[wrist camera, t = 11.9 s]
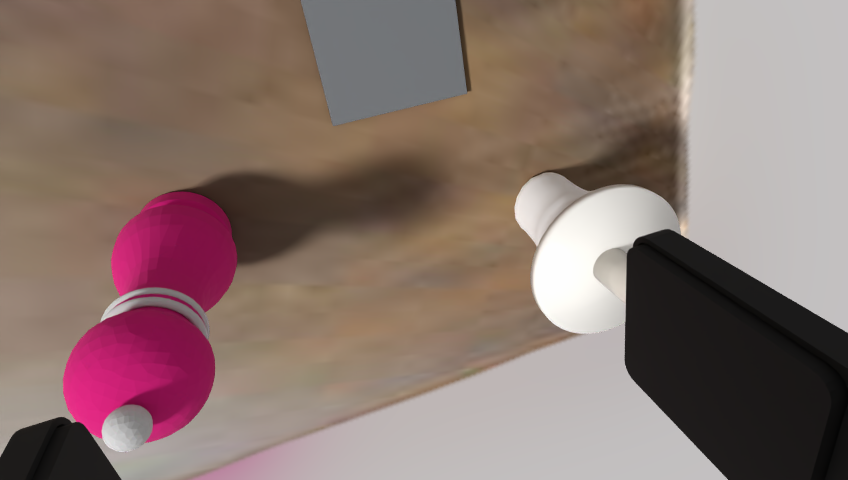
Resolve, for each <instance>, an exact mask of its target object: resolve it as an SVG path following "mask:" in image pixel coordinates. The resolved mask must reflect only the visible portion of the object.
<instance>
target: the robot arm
mask: <svg viewBox="0 0 848 480" xmlns="http://www.w3.org/2000/svg"><path fill="white" fill-rule="evenodd" d="M625 365H626V368H627V371H628V373H629V375H630V376H631V378H632V379H633V380H634V381H635V382H636V384H637V385H638V386H639V387H640V388H641V389H642V390H643V391H644V392H645V393H646V394H647V395H648V396H649V397H650V398H651V399H652V400H653V401H654V402H655V403H656V404H657V405H658V407H659V408H660V409H661V410H662V411H663V412H664V413H665V414H666V415H667V416H668V417H669V418H670V419H671V420H672V421H673V422H674V423H675V424H676V425H677V426H678V428H679V429H680V430H681V431H682V432H683V433H684V434H685V435H686V436H687V437H688V438H689V439H690V440H691V441H692V442H693V443H694V444H695V445H696V446H697V447H698V449H700V451H701V452H702V453H703V454H704V455H705V456H706V457H707V458H708V459H709V460H710V461H711V462H712V463H713V464H714V465H715V466H716V467H717V468H718V469H719V470H720V472H722V474H723V475H724V476H725V477H726V478H727V479H728V480H848V333H847V332H845V331H843V330H842V329H840V328H838V327H837V326H835V325H833V324H831V323H830V322H828V321H826V320H825V319H823V318H821V317H820V316H818V315H816V314H814V313H813V312H811V311H809V310H808V309H806V308H804V307H803V306H801V305H799V304H797V303H796V302H794V301H792V300H791V299H788V298H787V297H785V296H783V295H782V294H780V293H779V292H777V291H775V290H774V289H772V288H770V287H768V286H767V285H765V284H763V283H762V282H760V281H758V280H757V279H755V278H753V277H751V276H750V275H748V274H746V273H745V272H743V271H741V270H740V269H738V268H736V267H734V266H733V265H731V264H729V263H728V262H726V261H724V260H722V259H721V258H719V257H717V256H716V255H714V254H712V253H711V252H709V251H707V250H705V249H704V248H702V247H700V246H699V245H697V244H695V243H694V242H692V241H690V240H689V239H687V238H685V237H683V236H682V235H680V234H678V233H677V232H675V231H673V230H670V229H664V230H660V231H657V232H654V233H651V234H647V235H644V236H641V237H638V238H637V239H635V241H634V243H633V248H630V249H629V250H628V252H627V264H626V317H625ZM0 480H121V478H120V477H119V475H118V474H117V472H116V471H115V469H114V468H113V466H112V465H111V463H110V462H109V460H108V459H107V457H106V456H105V455H104V453H103V452H102V450H101V449H100V447H99V446H98V444H97V443H96V441H95V440H94V438H93V437H92V435H91V434H90V432H89V431H88V429H87V428H86V427H85V426H84V424H82V423H80V422H75V423H71V421H70V420H68V419H66V418H65V417H58V418H55V419H52V420H49V421H45V422H42V423H39V424H36V425H32V426H29V427H26V428H23V429H20V430H18V431H17V432H15V433H14V435H13V436H12V437H11V439H10V440H9V442H8V444H7V446H6V448H5V450H4V451H3V453H2V455H1V457H0Z"/></svg>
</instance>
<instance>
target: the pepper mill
mask: <svg viewBox="0 0 848 480" xmlns="http://www.w3.org/2000/svg"><path fill="white" fill-rule="evenodd" d="M111 266H112V274H113V279H114V284H115V286H116V288H117V290H118V292H119V294H120V296H121V297H119V298H118V299H116V300H115V301H114V302H112V303H111V305H110V306H109V307H108V308H107V309H106V311H105V312H104V314H103V317H102V319H101V322H100V323H99V324H97V325H96V326H94V327H93V328H91V329H90V330H88V332H87V333H86V334H85V335H84V336H83V337H82V338H81V339H80V340H79V342H78V343H77V344H76V346H75V347H74V349H73V350H72V352H71V355H70V357H69V359H68V362H67V364H66V369H65V373H64V377H63V394H64V397H65V400H66V404H67V407H68V410H69V411H70V413H71V414H72V416H73V417H74V419H75V420H76V421H77V422H80V423H82V424H84V426H85V427H86V428H87V429H88V431H89V432H90V433H92V434H93V435H95V436H97V437H99V438H102V439H103V440H104V442H105V444H106V445H107V446H108V447H109V448H111V449H113V450H116V451H118V452H127V451H131V450H134V449H136V448H139V447H140V446H141V445H143V444H144V443H147V442H152V441H155V440H159V439H162V438H164V437H167V436H169V435H171V434H173V433H175V432H176V431H178V430H180V429H181V428H183V427H184V426H186V425H187V424H188V423H189V422H190V421H191V420H192V419H193V418H194V417H195V416H196V415H197V414H198V413H199V411H200V410H201V409H202V407H203V406H204V404H205V402H206V401H207V399H208V397H209V394H210V392H211V389H212V386H213V382H214V377H215V358H214V355H213V351H212V348H211V345H210V343H209V341H208V338H209V332H210V330H209V322H208V318H207V316H206V314H205V312H206V311H208V310H209V309H210V308H212V307H213V306H214V305H215V304H216V303H217V302H218V301H219V300H220V299H221V298H222V296H223V295H224V294H225V292H226V291H227V290H228V288H229V286H230V285H231V283H232V280H233V277H234V274H235V270H236V266H237V252H236V246H235V243H234V241H233V239H232V230H231V225H230V222H229V219H228V217H227V215H226V214H225V213H224V211H223V210H222V209H221V208H220V207H219V206H218V205H217V204H216V203H215V202H213V201H212V200H210V199H208V198H206V197H204V196H202V195H199V194H196V193H191V192H171V193H167V194H163V195H161V196H158V197H157V198H155V199H153V200H152V201H150V202H149V203H148V204H147V205H146V206H145V207H144V208H143V209H142V211H141V212H140V214H138V215H137V216H135V217H134V218H133V219H131V220H130V221H129V222H128V223H127V224H126V225H125V226H124V227H123V229H122V230H121V232H120V233H119V235H118V237H117V240H116V243H115V246H114V249H113V253H112V258H111Z"/></svg>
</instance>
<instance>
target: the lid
mask: <svg viewBox="0 0 848 480" xmlns="http://www.w3.org/2000/svg"><path fill="white" fill-rule="evenodd" d="M664 229H670V230H673V231H675V232H677V233H678V234H680V235H681V232H680V225H679V222H678V218H677V216H676V214H675V212H674V210H673V209H672V207H671V206H670V204H669V203H668V202H667V201H666V200H664V199H663V198H662V197H660V196H659V195H657V194H656V193H654V192H652V191H650V190H648V189H645V188H643V187H640V186H636V185H631V184H617V185H610V186H606V187H602V188H599V189H596V190H593V191H591V192H589V193H587V194H585V195H583V196H582V197H580V198H578V199H577V200H575V201H574V202H572V203H571V204H570V205H569V206H568V207H566V208H565V209H564V210H563V211H562V212H561V213H560V214H559V215H558V216H557V217H556V218H555V219H554V220H553V222H552V223H551V224H550V225H549V227H548V228H547V230H546V231H545V233H544V234H543V236H542V238H541V240H540V242H539V244H538V246H537V248H536V251H535V254H534V257H533V261H532V265H531V274H530V278H531V289H532V293H533V296H534V299H535V301H536V303H537V305H538V307H539V308H540V309H541V311H542V312H543V313H544V314H545V315H546V317H547V318H548V319H549V320H550V321H551V322H553V323H554V324H555V325H557V326H558V327H560V328H562V329H564V330H567V331H570V332H574V333H582V334H589V333H598V332H603V331H606V330H610V329H612V328H615V327H617V326H620V325H622V324H624V323H625V317H626V264H627V252H628V250H629V249H630V248H633V243H634V241H635V239H637V238H638V237H641V236H644V235H647V234H651V233H654V232H657V231H660V230H664Z"/></svg>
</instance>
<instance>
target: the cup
mask: <svg viewBox="0 0 848 480" xmlns="http://www.w3.org/2000/svg"><path fill="white" fill-rule="evenodd" d="M589 192H591V191H586V190H584V189H582V188H580V187H578V186H576V185H575V184H573V183H572V182H570V181H569V180H568V179H566V178H565V177H564V176H562V175H560V174H557V173H553V172H549V173H543V174H540V175H538V176H535V177H533V178H531V179H530V180H529V181H528V182H527V183H526V184H525V185H524V186H523V187H522V189H521V191H520V193H519V194H518V196H517V199H516V203H515V218H516V220H517V222H518V223H519V225H520V227H521V228H522V229H524V230H525V231H526V232H527V234H528V235H529V236H530V237H531V238H532V240H533V241H534V242H535V244H536V246H538V244H539V242H540V240H541V238H542V236H543V234H544V233H545V231H546V230H547V228H548V227H549V225H550V224H551V223H552V222H553V220H554V219H555V218H556V217H557V216H558V215H559V214H560V213H561V212H562V211H563V210H564V209H565V208H566V207H568V206H569V205H570V204H571V203H572V202H574V201H575V200H577V199H578V198H580V197H582V196H583V195H585V194H587V193H589Z"/></svg>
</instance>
